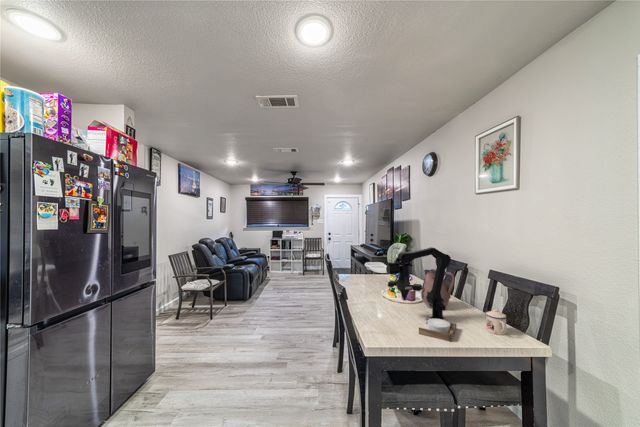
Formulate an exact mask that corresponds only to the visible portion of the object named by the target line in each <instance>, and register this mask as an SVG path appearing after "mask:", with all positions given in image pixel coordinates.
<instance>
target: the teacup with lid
mask: <svg viewBox="0 0 640 427" xmlns="http://www.w3.org/2000/svg"><path fill="white" fill-rule="evenodd" d="M485 315H486V316H485V317H486V318H485V319H486V321H485V322H486V330H487V332H488V333H489V334H490V333H491V334H493V335H499V336H504V335H507V315H506V314H504V313H503V312H501V311H499V310H498V309H497V308H494V309H493V310H491V311H486V312H485Z"/></svg>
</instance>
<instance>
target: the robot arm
mask: <svg viewBox="0 0 640 427" xmlns="http://www.w3.org/2000/svg"><path fill="white" fill-rule="evenodd" d="M428 256H432V257H433V258H434V259H435V265H436V268H435V269H436V273H435V278H434V282H433V287H432V290H431V291H430V292H427V297H426V298H427V302H428V303H429V305H430V306H431V307H432V308H431V314H432V315H431V317H430V319H442V320H445V317H444V316H443V311H446V308H447V306H444V305H443V304H442V297H441V288H442V283H443V278H444V279H445V277H444V274H445V272H446V269H447V268H448V267H449V266H450V263H451V261H452V259H451V256H450V255H449V254H448V253H447V254H446V253H444V252H442V251H440V250H439V249H436V248H435V247H428V248H423V249H420V250H419V249H418V250H415V251H400V252H399V253H398V254H397V257H396V259H395V261H393V262H387V265H386V268H385V271H386V274H387V275H398V274H399V275H398V278H397V280H390V281H388V283H387V288H388V287H390V288H394V287H396V289H397V290H398V291H399V292H400V294H401V296H402V299H403V301H406V300H407V298H408V295H409V293H410V291H412V290H413V291H415V292H420V291H422V286H423V284H420V283H413V284H411V282H410V277H411V275H410V267H413V264H412V263H411V262H413V261H414V260H416V259H419V258H423V257H428Z"/></svg>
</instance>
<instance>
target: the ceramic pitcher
mask: <svg viewBox="0 0 640 427" xmlns="http://www.w3.org/2000/svg"><path fill="white" fill-rule="evenodd" d="M436 269H437V268H432V269H424V270H423V272H424V279H423V283H422V289H421V290H420V291H421V292H420V296H421V301H422V302H423V304H424V305H425V306H426V307H428V308H430V309H432V307H431V306H430V305H429V303H428V302H427V298H426V297H427V292H430V291H431V290H432V287H433V282H434V278H435V273H436ZM446 275H450V277H451V283H450V286H449V287H448V286H447V284H446V281H445V276H446ZM455 278H456V277H455V275H454V274H453V273H452V272H450V271H445V274H444V278H443V283H442V288H441V297H442V304H443V305H444V306H445V307H447V306H448V304H449V301H450V299H451V291H452V289H453V287H454V285H455V281H456V280H455Z"/></svg>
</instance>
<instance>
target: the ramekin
mask: <svg viewBox="0 0 640 427" xmlns="http://www.w3.org/2000/svg"><path fill="white" fill-rule="evenodd" d="M427 323H428V324H427V325H428V330H433V331H437V332H442V333H446V334H449V332H450V330H451V329H450V323H451V322H449V321H448V320H445V319H443V320H442V319H431V318H430V319H429V320H428V321H427Z"/></svg>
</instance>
